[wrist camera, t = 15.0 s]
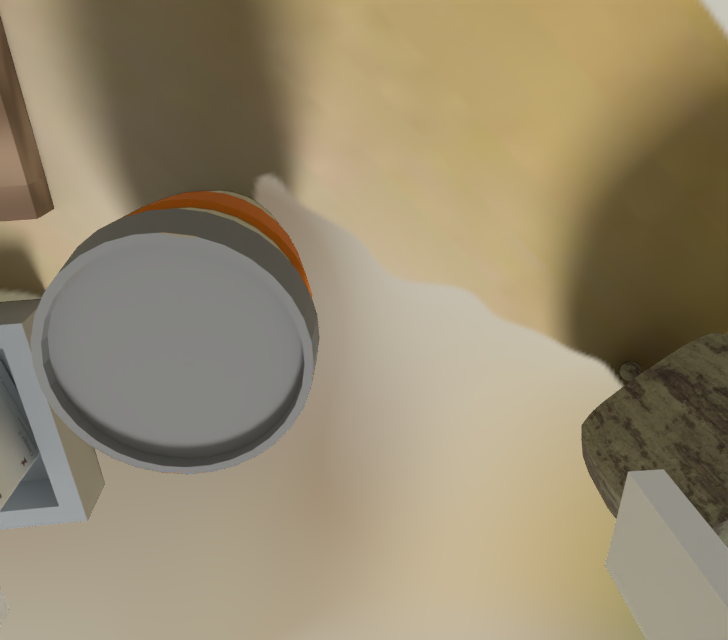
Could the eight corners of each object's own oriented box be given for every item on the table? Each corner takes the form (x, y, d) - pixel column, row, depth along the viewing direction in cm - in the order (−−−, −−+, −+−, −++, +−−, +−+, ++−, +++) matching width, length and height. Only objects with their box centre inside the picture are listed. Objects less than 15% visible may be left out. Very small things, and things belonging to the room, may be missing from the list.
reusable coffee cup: (354, 259, 40) (377, 365, 26) (229, 371, 42) (191, 520, 29) (215, 117, 35) (156, 157, 21) (85, 253, 38) (-39, 365, 24)
